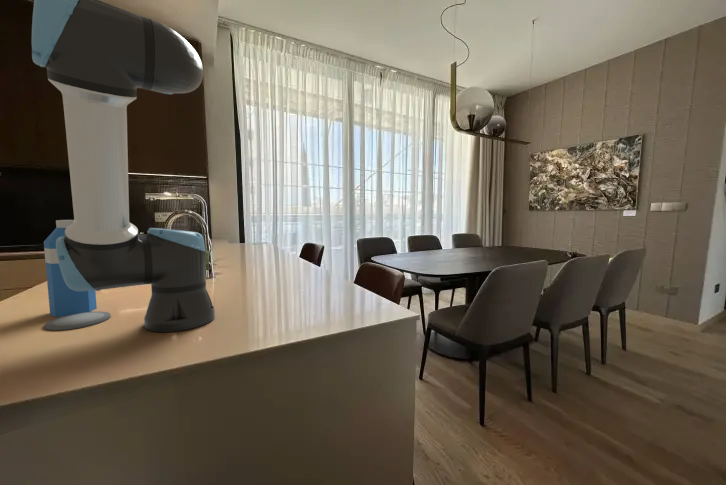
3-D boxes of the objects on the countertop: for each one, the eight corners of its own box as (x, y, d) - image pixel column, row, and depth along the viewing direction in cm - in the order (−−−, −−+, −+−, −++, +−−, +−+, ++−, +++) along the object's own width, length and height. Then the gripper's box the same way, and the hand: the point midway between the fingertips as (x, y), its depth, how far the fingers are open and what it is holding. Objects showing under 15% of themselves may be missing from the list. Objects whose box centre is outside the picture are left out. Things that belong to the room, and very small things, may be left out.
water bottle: (105, 306, 88) (99, 220, 86) (71, 317, 79) (63, 220, 77) (76, 305, 89) (69, 219, 87) (39, 316, 80) (30, 220, 78)
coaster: (121, 317, 80) (121, 314, 80) (62, 333, 69) (61, 330, 68) (93, 311, 84) (93, 308, 84) (34, 326, 73) (33, 323, 73)
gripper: (134, 108, 85) (139, 185, 87) (86, 119, 95) (91, 188, 97) (102, 98, 78) (108, 183, 80) (54, 111, 88) (60, 186, 90)
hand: (99, 186), depth 88 cm, fingers open, 13 cm apart
